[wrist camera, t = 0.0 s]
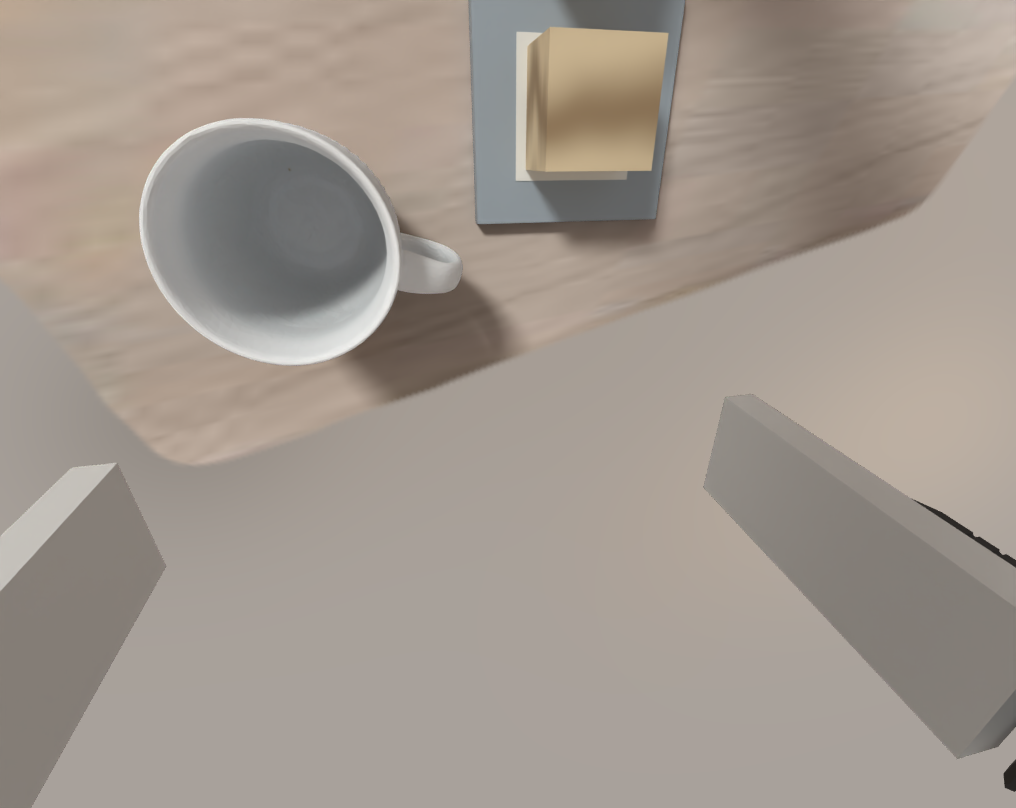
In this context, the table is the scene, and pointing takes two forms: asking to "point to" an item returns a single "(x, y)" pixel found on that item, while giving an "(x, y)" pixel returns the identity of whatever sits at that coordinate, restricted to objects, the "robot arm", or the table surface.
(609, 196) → the blueprint board
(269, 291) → the mug
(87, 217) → the table surface
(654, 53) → the oak block
